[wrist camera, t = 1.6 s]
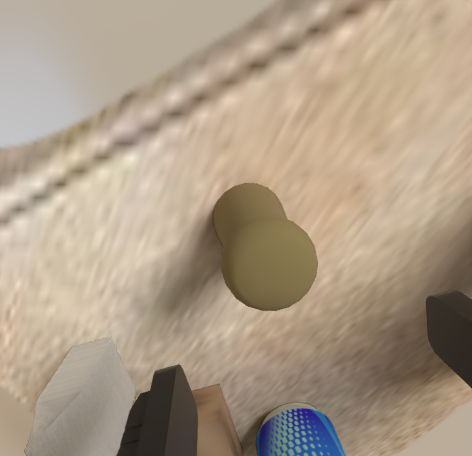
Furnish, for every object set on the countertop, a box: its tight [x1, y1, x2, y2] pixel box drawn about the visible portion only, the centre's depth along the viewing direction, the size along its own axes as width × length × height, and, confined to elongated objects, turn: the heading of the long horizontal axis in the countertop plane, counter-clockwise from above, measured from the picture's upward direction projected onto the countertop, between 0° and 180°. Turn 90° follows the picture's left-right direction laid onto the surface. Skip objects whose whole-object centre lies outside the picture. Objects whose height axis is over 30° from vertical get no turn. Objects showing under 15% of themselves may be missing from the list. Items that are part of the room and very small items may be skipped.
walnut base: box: [116, 384, 243, 456], centre depth 29 cm, size 10×10×4 cm
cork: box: [213, 183, 318, 311], centre depth 20 cm, size 6×6×11 cm
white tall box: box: [24, 337, 136, 456], centre depth 24 cm, size 4×7×10 cm, turn 14°
